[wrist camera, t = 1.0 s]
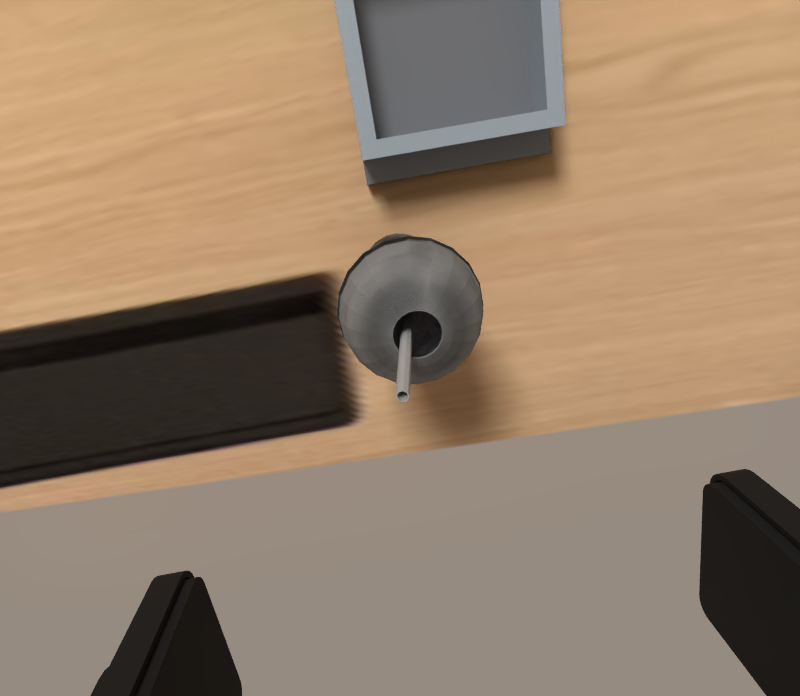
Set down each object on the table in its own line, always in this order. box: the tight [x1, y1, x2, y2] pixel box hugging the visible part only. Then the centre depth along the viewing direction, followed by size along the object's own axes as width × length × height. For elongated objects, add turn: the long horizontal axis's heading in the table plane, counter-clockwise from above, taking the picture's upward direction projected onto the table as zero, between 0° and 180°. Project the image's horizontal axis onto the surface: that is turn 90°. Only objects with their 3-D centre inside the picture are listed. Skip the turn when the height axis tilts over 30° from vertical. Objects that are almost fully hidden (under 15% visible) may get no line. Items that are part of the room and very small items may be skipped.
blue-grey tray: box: [334, 0, 566, 185], centre depth 31 cm, size 12×15×4 cm
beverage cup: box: [337, 234, 483, 402], centre depth 28 cm, size 7×7×20 cm
